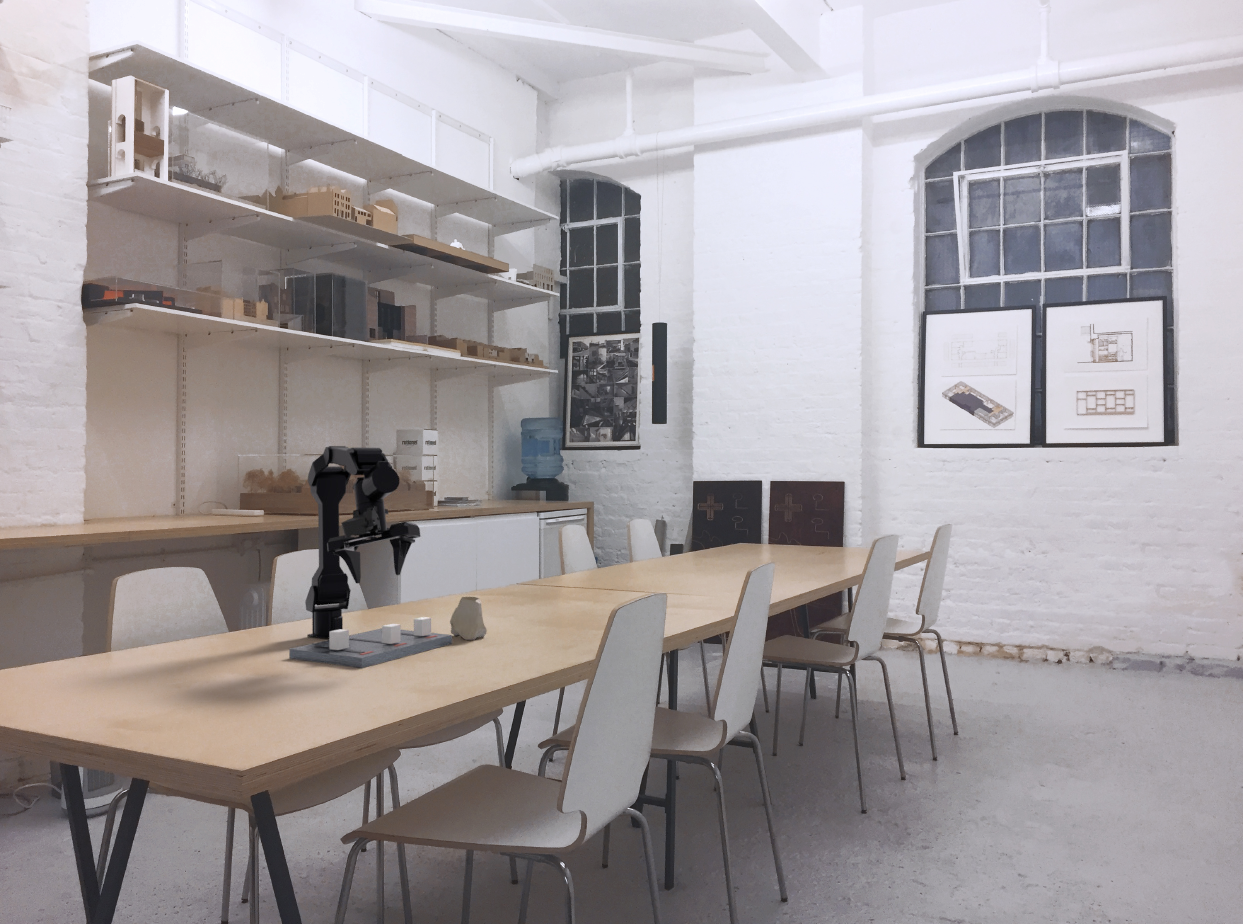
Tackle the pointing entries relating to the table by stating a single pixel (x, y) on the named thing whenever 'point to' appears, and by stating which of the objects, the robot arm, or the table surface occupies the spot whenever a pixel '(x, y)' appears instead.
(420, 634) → the handle far
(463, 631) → the faceted grey rock
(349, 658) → the panel
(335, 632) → the handle
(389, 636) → the handle mid
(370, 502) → the robot arm
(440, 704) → the table surface
